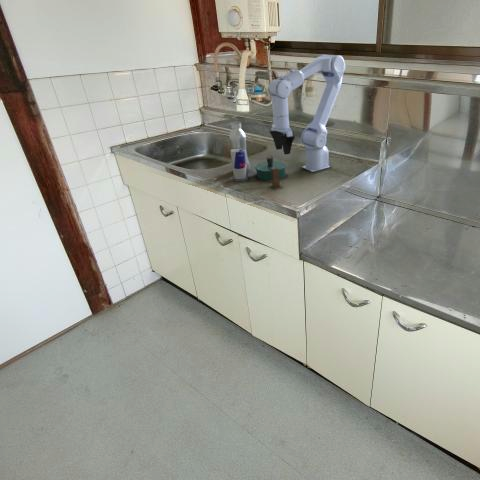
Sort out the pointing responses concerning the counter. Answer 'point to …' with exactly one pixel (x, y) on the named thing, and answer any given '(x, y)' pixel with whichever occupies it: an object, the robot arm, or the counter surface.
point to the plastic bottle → (239, 140)
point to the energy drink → (239, 164)
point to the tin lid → (270, 165)
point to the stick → (275, 177)
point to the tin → (269, 175)
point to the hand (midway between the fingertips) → (283, 151)
